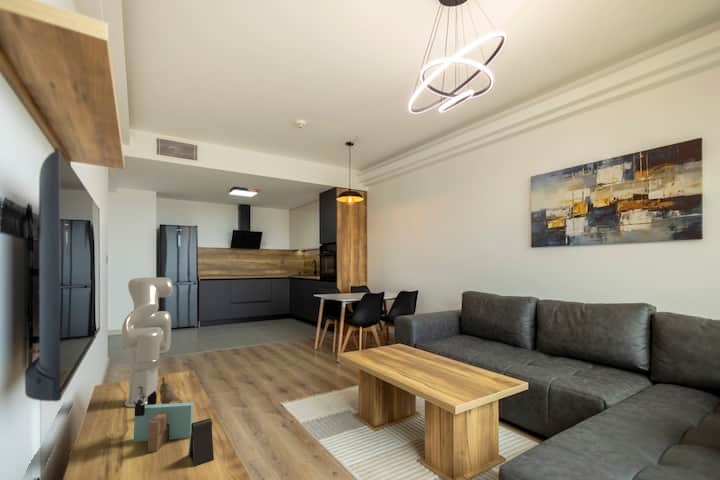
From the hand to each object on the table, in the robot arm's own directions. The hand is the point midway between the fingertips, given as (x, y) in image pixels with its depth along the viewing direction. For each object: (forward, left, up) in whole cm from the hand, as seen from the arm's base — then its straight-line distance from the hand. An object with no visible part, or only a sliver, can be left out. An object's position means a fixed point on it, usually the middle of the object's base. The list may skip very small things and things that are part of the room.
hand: (145, 409), depth 131 cm
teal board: (+1, +7, -11) cm, 13 cm away
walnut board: (+1, +7, -11) cm, 13 cm away
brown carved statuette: (-23, +1, -11) cm, 25 cm away
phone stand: (+17, +25, -11) cm, 32 cm away
